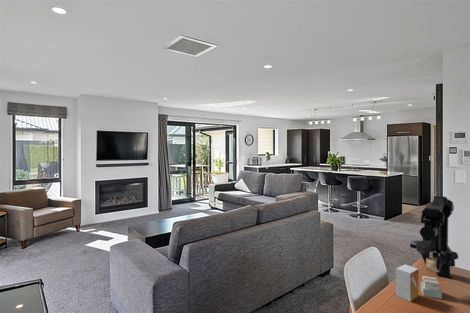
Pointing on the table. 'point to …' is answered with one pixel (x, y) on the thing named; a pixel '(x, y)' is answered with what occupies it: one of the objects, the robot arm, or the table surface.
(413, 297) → the small box
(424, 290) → the sage base block
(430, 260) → the maple cylinder
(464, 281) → the table surface
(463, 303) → the table surface
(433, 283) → the cream top block
